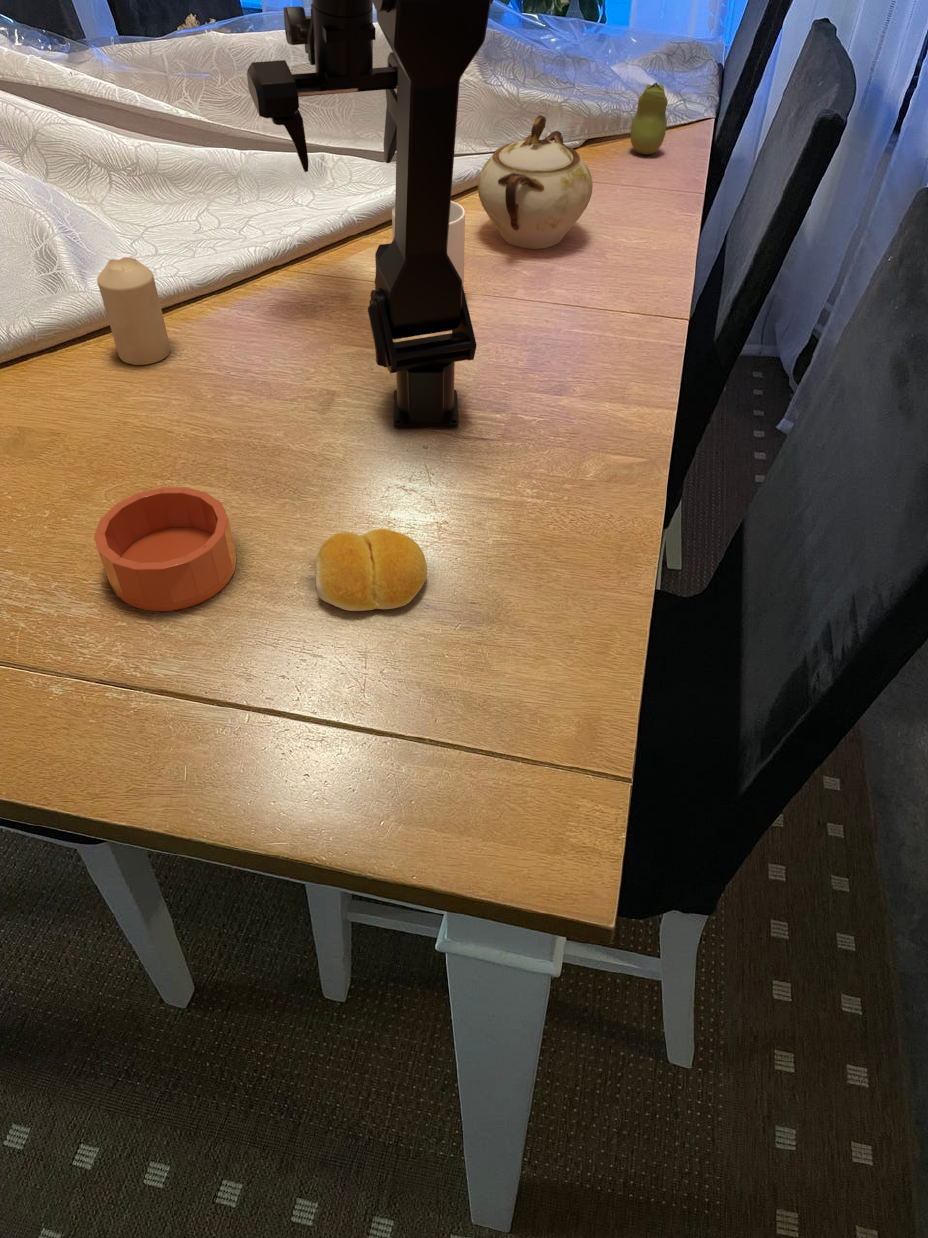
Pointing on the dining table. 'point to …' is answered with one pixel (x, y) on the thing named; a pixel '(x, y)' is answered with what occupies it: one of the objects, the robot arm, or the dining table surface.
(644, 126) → the pear
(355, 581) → the bread roll
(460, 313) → the robot arm
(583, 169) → the sugar bowl
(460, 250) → the mug
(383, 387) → the dining table surface
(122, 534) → the round reddish orange bowl
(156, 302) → the candle
